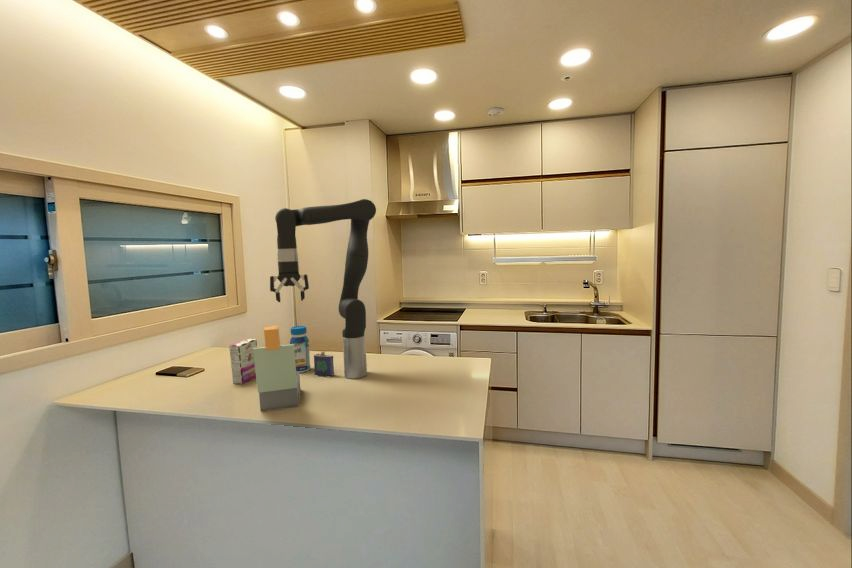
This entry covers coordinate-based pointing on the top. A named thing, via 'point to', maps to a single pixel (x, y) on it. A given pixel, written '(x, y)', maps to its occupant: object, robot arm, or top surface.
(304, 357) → the beverage bottle
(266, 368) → the lid
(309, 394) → the top surface
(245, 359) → the candy bar box
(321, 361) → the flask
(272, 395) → the tub
